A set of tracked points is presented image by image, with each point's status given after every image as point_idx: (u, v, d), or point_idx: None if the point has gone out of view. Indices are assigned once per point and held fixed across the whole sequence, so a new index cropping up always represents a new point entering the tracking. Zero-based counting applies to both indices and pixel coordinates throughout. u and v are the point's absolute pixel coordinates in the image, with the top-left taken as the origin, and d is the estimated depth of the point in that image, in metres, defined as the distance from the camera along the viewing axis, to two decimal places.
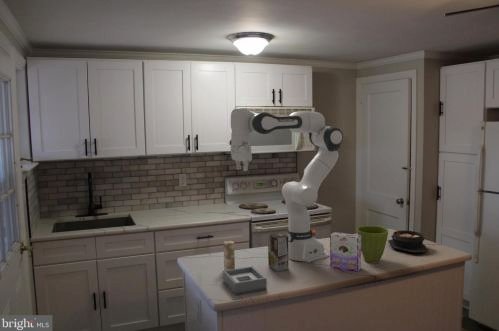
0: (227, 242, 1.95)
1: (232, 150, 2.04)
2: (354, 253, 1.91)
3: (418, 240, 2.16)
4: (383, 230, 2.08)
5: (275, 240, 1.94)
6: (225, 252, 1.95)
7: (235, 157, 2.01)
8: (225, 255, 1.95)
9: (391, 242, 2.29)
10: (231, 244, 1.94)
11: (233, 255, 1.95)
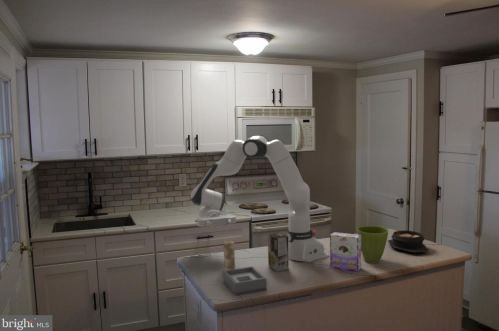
0: (227, 242, 1.95)
1: None
2: (354, 253, 1.91)
3: (418, 240, 2.16)
4: (383, 230, 2.08)
5: (275, 240, 1.94)
6: (225, 252, 1.95)
7: None
8: (225, 255, 1.95)
9: (391, 242, 2.29)
10: (231, 244, 1.94)
11: (233, 255, 1.95)
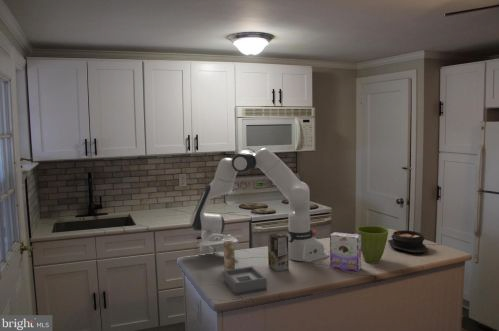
0: (227, 242, 1.95)
1: None
2: (354, 253, 1.91)
3: (418, 240, 2.16)
4: (383, 230, 2.08)
5: (275, 240, 1.94)
6: (225, 252, 1.95)
7: None
8: (225, 255, 1.95)
9: (391, 242, 2.29)
10: (231, 244, 1.94)
11: (233, 255, 1.95)
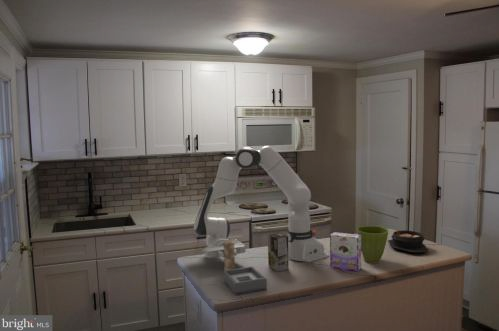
0: (227, 242, 1.95)
1: None
2: (354, 253, 1.91)
3: (418, 240, 2.16)
4: (383, 230, 2.08)
5: (275, 240, 1.94)
6: (225, 252, 1.95)
7: None
8: None
9: (391, 242, 2.29)
10: (231, 244, 1.94)
11: (233, 255, 1.95)
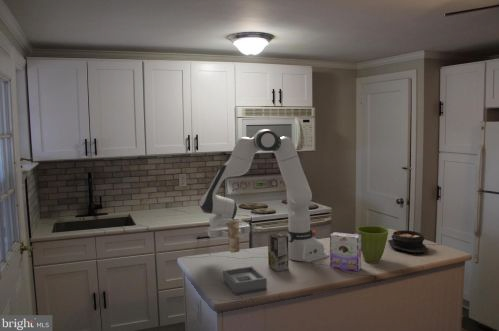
0: (231, 221, 1.87)
1: None
2: (354, 253, 1.91)
3: (418, 240, 2.16)
4: (383, 230, 2.08)
5: (275, 240, 1.94)
6: (229, 231, 1.87)
7: None
8: None
9: (391, 242, 2.29)
10: (235, 223, 1.86)
11: (238, 234, 1.87)
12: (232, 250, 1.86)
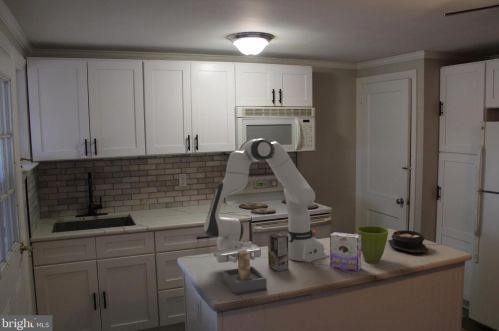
0: (242, 252, 1.76)
1: None
2: (354, 253, 1.91)
3: (418, 240, 2.16)
4: (383, 230, 2.08)
5: (275, 240, 1.94)
6: (240, 263, 1.76)
7: None
8: (240, 266, 1.76)
9: (391, 242, 2.29)
10: (246, 254, 1.75)
11: (248, 266, 1.76)
12: None
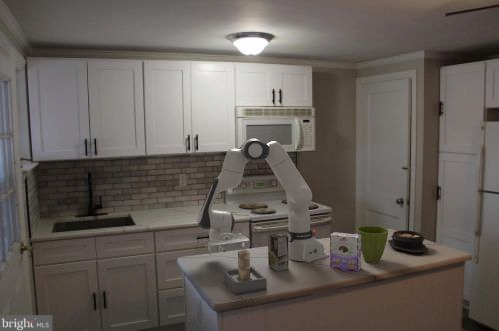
0: (242, 252, 1.76)
1: None
2: (354, 253, 1.91)
3: (418, 240, 2.16)
4: (383, 230, 2.08)
5: (275, 240, 1.94)
6: (240, 263, 1.76)
7: None
8: (240, 266, 1.76)
9: (391, 242, 2.29)
10: (246, 254, 1.75)
11: (248, 266, 1.76)
12: None
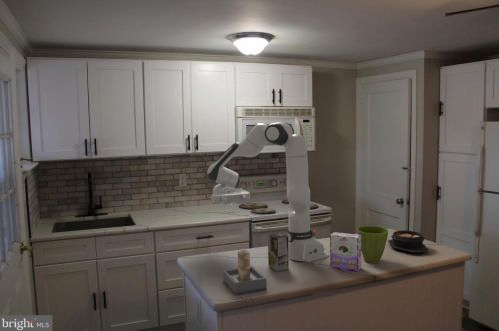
0: (242, 252, 1.76)
1: None
2: (354, 253, 1.91)
3: (418, 240, 2.16)
4: (383, 230, 2.08)
5: (275, 240, 1.94)
6: (240, 263, 1.76)
7: None
8: (240, 266, 1.76)
9: (391, 242, 2.29)
10: (246, 254, 1.75)
11: (248, 266, 1.76)
12: None
